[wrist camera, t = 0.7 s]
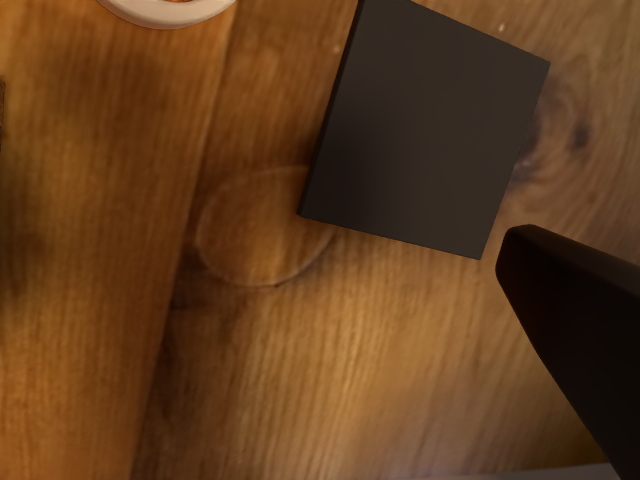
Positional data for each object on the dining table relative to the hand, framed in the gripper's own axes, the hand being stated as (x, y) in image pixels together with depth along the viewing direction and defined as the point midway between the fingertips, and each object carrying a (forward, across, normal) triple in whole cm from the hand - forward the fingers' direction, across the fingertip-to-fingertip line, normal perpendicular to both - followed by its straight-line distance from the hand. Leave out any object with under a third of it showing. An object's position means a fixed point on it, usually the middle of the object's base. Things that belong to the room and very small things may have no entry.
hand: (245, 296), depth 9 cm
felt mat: (+15, -12, +6) cm, 20 cm away
